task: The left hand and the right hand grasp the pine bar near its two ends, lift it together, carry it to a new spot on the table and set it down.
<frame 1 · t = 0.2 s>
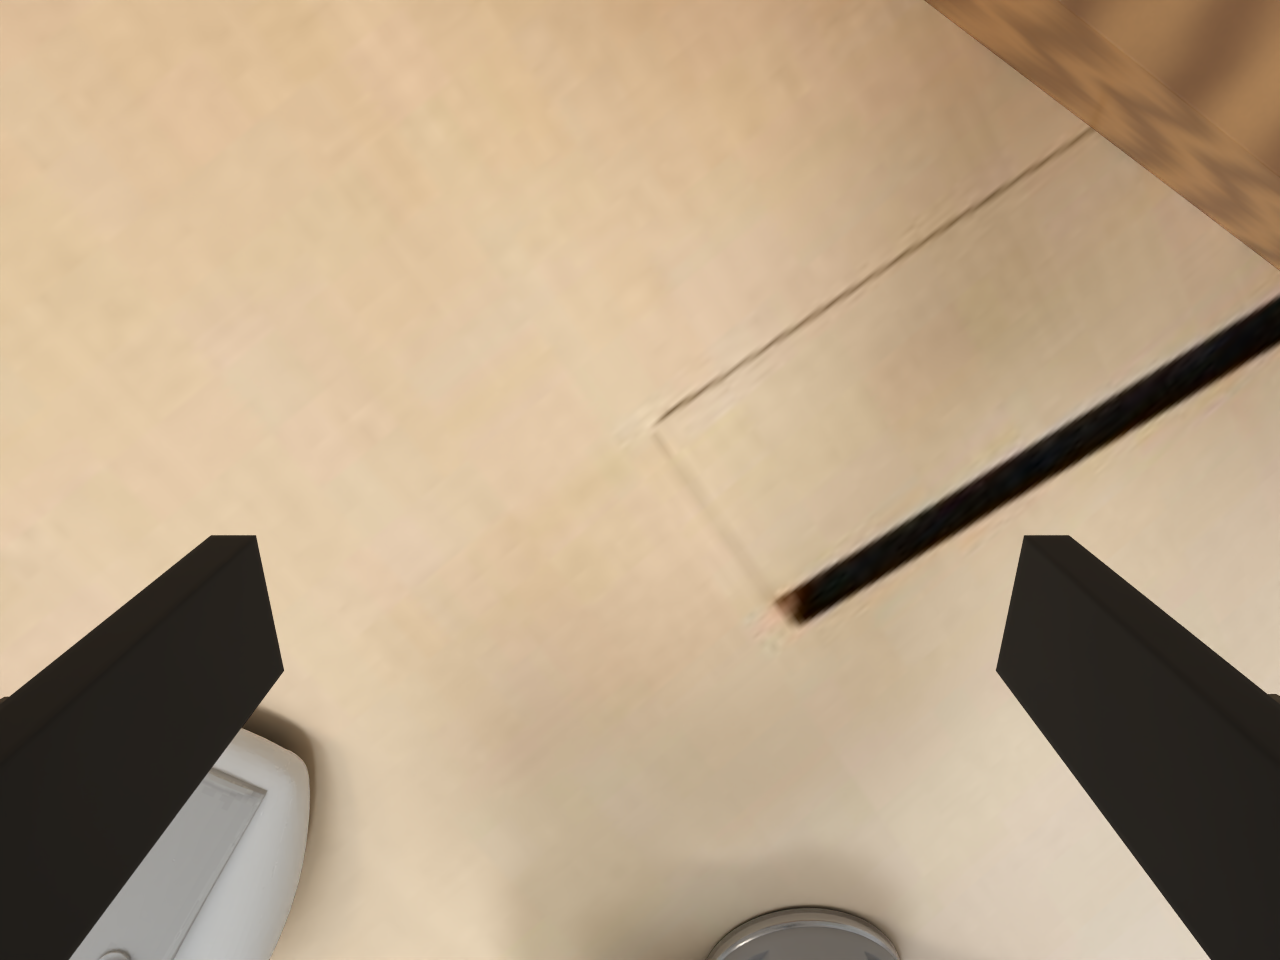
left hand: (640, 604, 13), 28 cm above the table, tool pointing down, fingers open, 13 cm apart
bar: (1040, 13, 34), on the table
projector: (201, 831, 51), on the table
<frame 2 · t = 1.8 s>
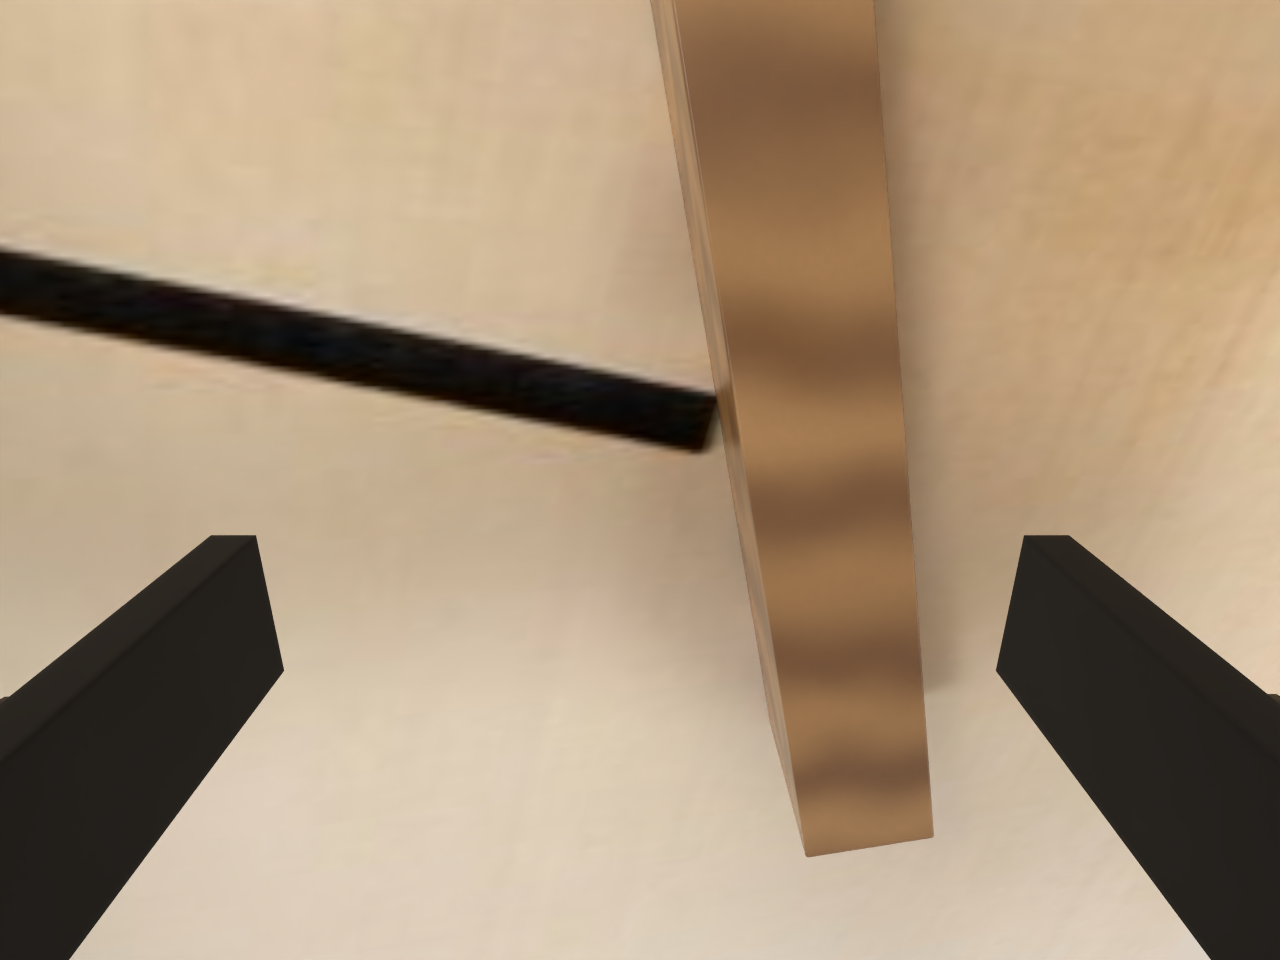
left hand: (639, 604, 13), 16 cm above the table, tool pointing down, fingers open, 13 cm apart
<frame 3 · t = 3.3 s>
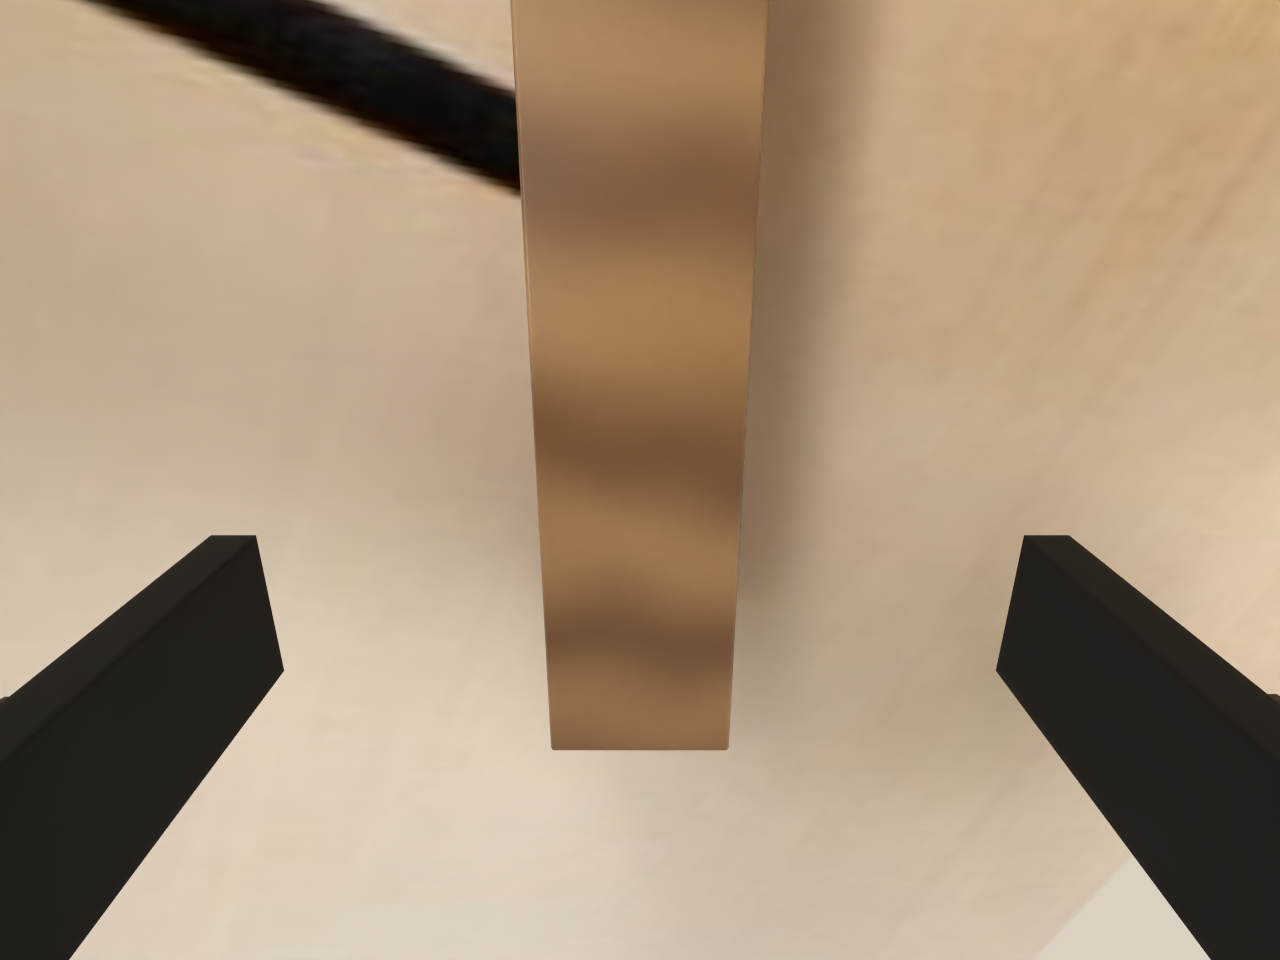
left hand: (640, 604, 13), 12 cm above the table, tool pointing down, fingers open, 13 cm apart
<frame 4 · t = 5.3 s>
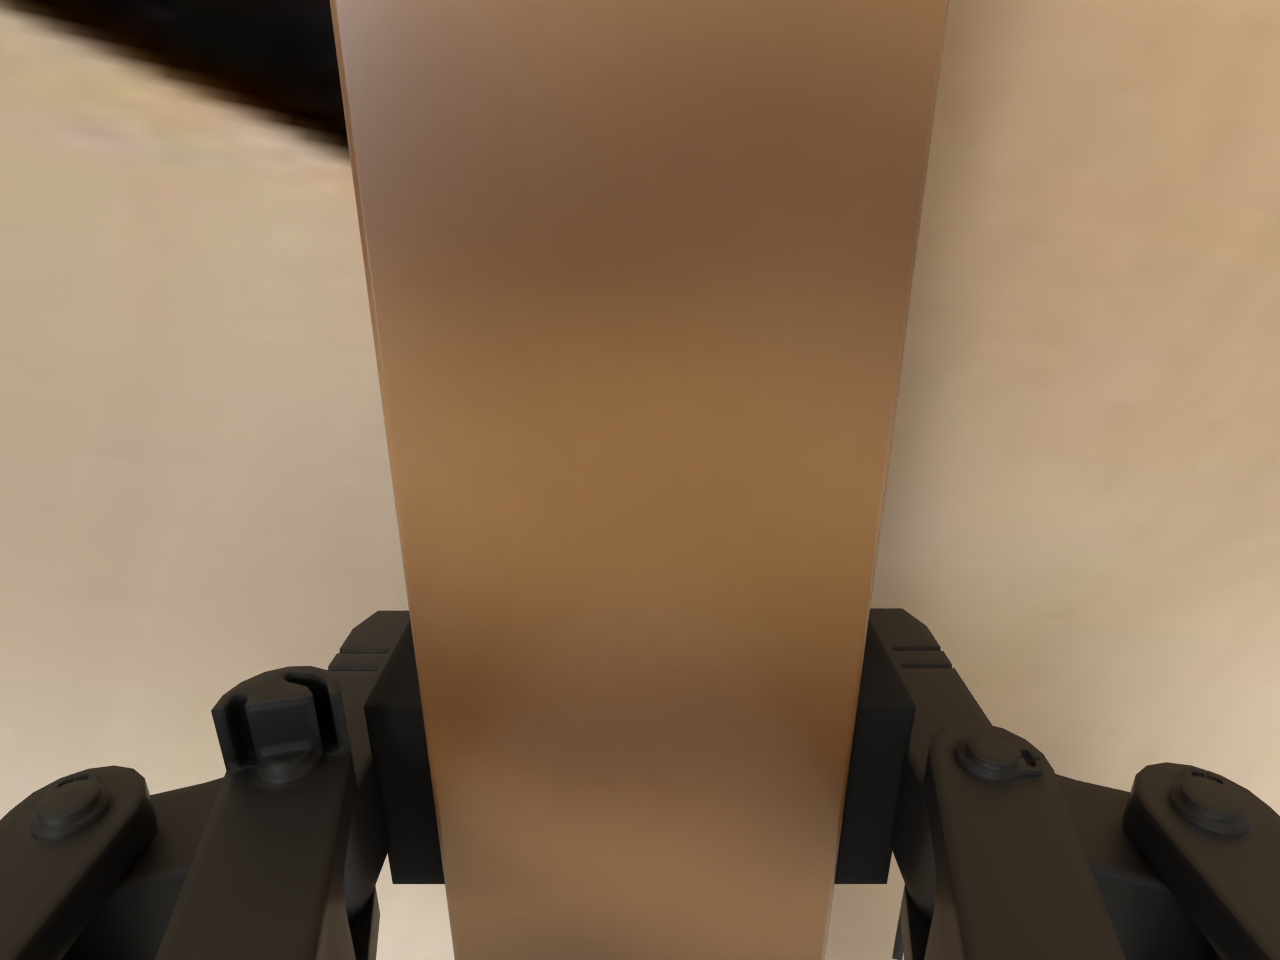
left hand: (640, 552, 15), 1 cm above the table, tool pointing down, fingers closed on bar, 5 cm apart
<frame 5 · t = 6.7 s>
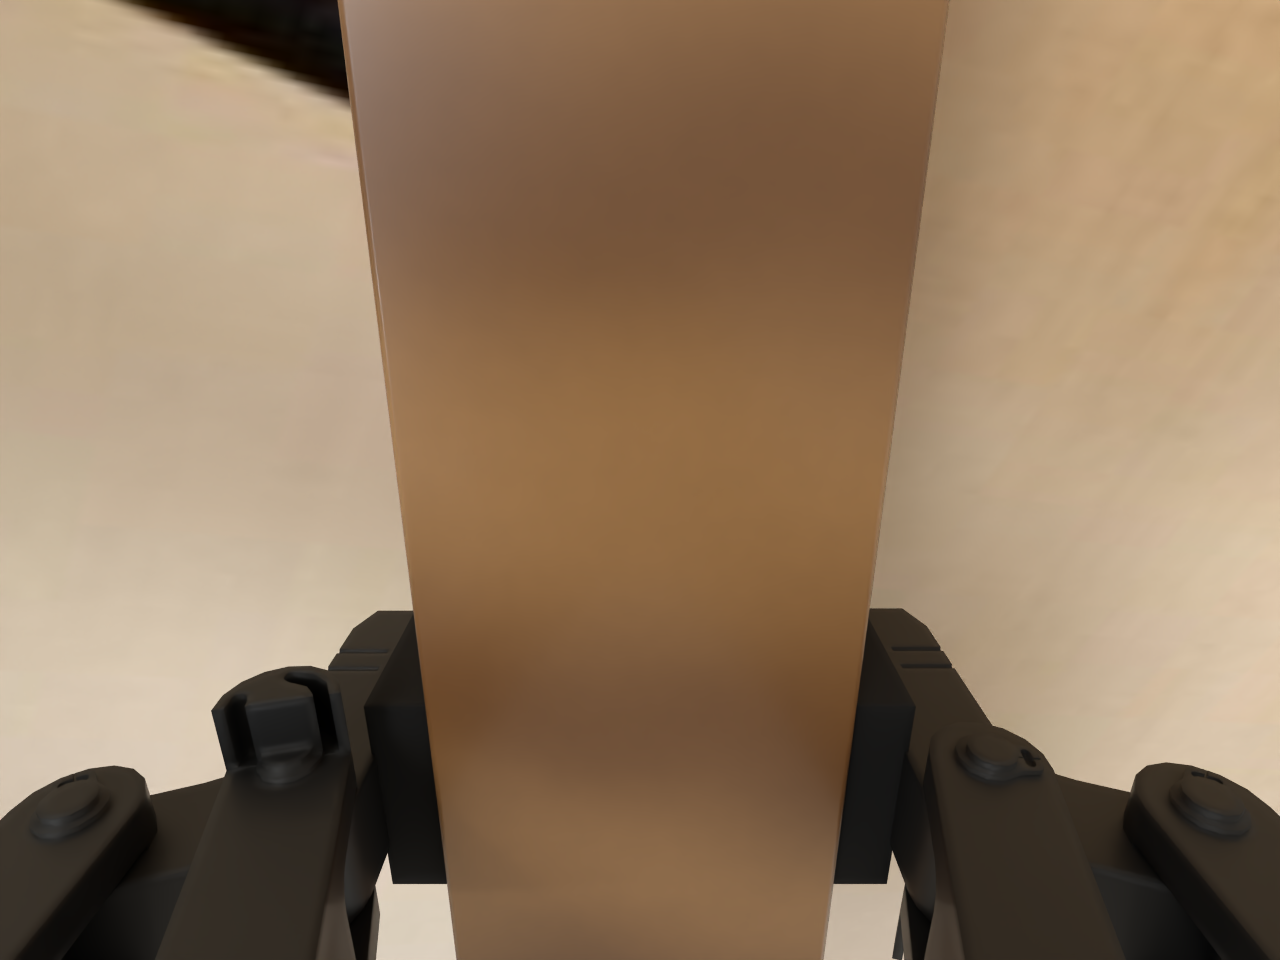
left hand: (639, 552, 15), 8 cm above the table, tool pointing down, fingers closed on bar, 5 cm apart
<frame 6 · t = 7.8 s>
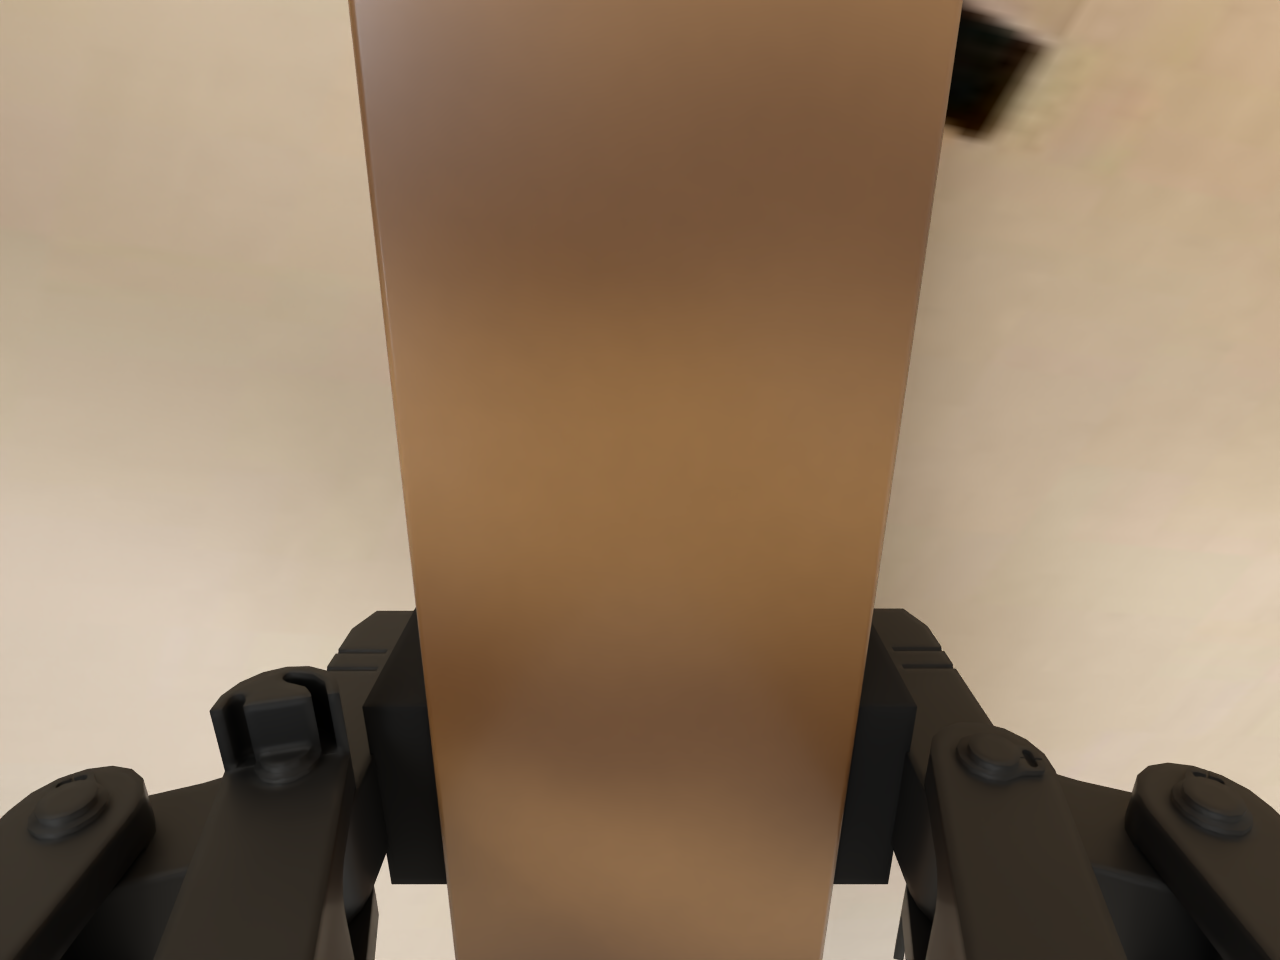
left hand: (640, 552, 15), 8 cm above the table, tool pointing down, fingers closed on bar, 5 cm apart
when the left hand's fingers open (2 cm above the table, at t = 10.3 s): bar drops 2 cm, on the table.
when the right hand's fingers open (2 cm above the table, at t = 10.3 s): bar drops 2 cm, on the table.
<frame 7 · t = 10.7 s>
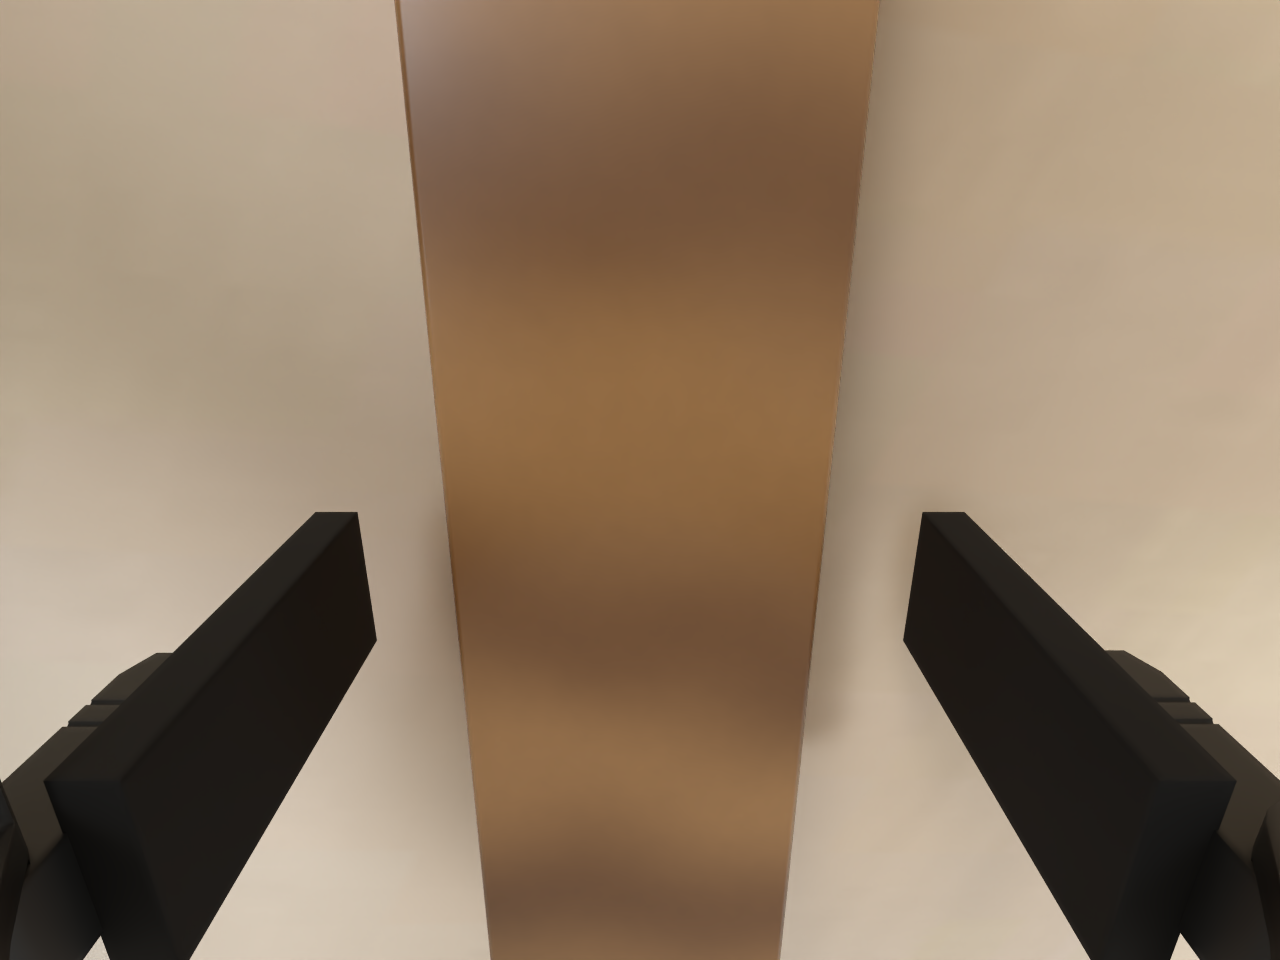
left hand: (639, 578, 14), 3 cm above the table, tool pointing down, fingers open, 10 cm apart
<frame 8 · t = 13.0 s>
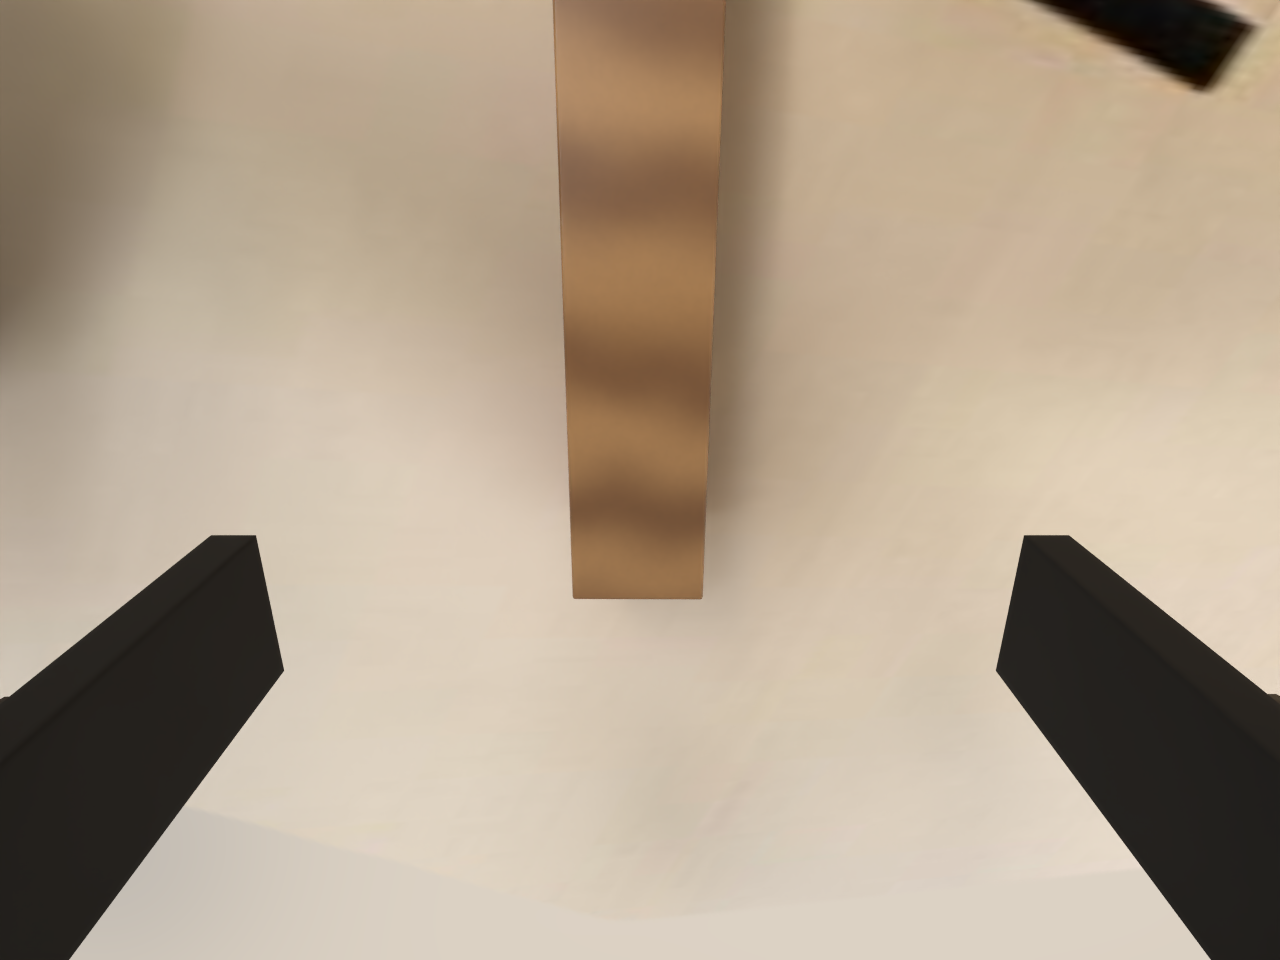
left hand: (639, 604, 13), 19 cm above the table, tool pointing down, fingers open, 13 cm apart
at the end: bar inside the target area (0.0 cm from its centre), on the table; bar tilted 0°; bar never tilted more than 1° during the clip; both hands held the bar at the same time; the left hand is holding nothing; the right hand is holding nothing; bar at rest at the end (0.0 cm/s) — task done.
